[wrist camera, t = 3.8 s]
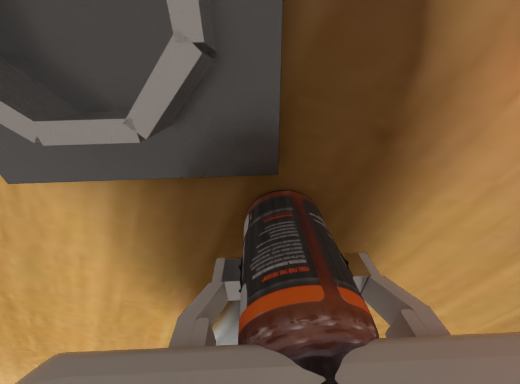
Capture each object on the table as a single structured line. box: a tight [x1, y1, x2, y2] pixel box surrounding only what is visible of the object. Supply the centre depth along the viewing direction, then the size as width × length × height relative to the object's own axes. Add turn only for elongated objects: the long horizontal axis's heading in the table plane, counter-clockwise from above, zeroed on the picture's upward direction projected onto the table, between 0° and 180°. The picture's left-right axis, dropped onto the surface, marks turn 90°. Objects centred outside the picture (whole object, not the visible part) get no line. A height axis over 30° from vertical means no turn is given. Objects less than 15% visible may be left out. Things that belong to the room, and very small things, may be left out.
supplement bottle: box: [238, 191, 379, 384], centre depth 10 cm, size 6×6×11 cm
